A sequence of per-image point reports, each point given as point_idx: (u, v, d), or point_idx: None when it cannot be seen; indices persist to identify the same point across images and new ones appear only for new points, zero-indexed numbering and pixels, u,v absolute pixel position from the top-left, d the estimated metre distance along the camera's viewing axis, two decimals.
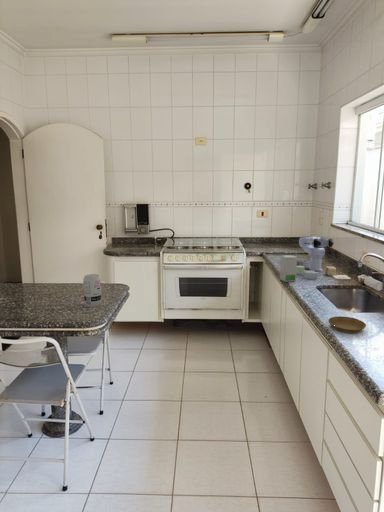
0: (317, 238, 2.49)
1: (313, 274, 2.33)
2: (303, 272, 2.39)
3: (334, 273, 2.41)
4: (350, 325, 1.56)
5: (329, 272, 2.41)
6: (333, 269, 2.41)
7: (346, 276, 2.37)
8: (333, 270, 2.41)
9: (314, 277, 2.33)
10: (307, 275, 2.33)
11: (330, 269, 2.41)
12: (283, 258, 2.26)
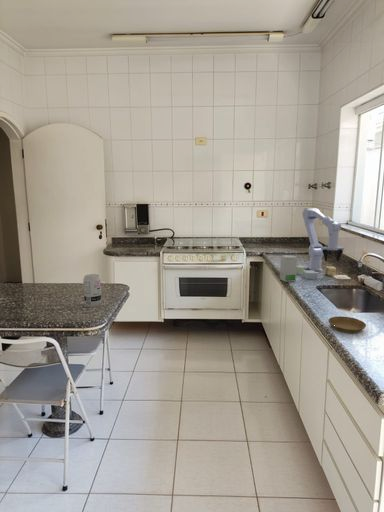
0: (334, 239, 2.37)
1: (313, 274, 2.33)
2: (303, 272, 2.39)
3: (334, 273, 2.41)
4: (350, 325, 1.56)
5: (329, 272, 2.41)
6: (333, 269, 2.41)
7: (346, 276, 2.37)
8: (333, 270, 2.41)
9: (315, 277, 2.33)
10: (307, 275, 2.33)
11: (330, 269, 2.41)
12: (283, 258, 2.26)
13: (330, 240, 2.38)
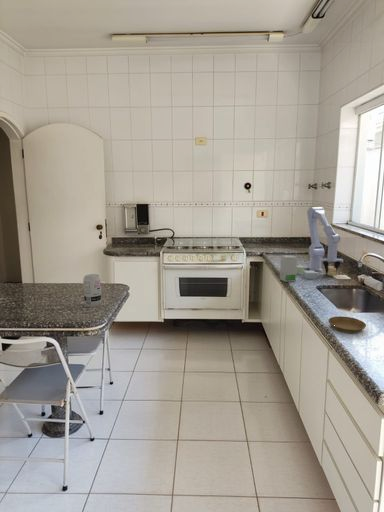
0: (333, 251, 2.38)
1: (314, 274, 2.33)
2: (303, 272, 2.39)
3: (334, 273, 2.41)
4: (350, 325, 1.56)
5: (329, 272, 2.41)
6: (333, 268, 2.41)
7: (346, 276, 2.37)
8: (333, 270, 2.41)
9: (315, 277, 2.33)
10: (308, 275, 2.33)
11: (330, 269, 2.41)
12: (283, 258, 2.26)
13: (329, 252, 2.40)
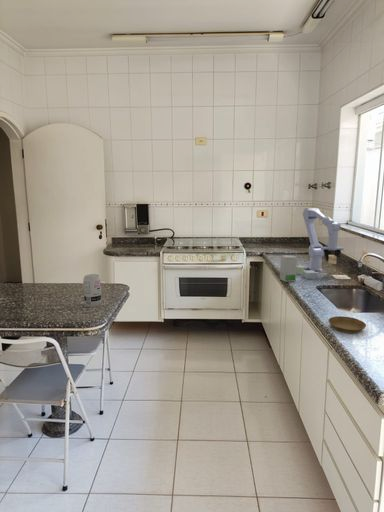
0: (333, 239, 2.36)
1: (314, 274, 2.33)
2: (303, 272, 2.39)
3: (335, 261, 2.39)
4: (350, 325, 1.56)
5: (330, 260, 2.39)
6: (334, 257, 2.39)
7: (346, 276, 2.37)
8: (334, 258, 2.39)
9: (315, 277, 2.34)
10: (308, 275, 2.33)
11: (331, 257, 2.39)
12: (283, 258, 2.26)
13: (330, 240, 2.38)
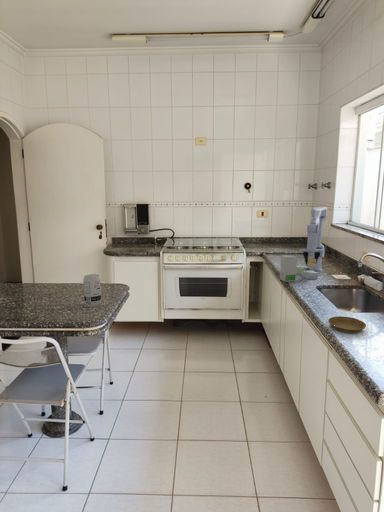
0: (309, 241, 2.31)
1: (314, 274, 2.33)
2: (303, 272, 2.38)
3: (314, 264, 2.32)
4: (350, 325, 1.56)
5: (309, 263, 2.32)
6: (313, 259, 2.32)
7: (346, 276, 2.37)
8: (313, 261, 2.32)
9: (315, 277, 2.34)
10: (308, 275, 2.33)
11: (310, 260, 2.32)
12: (283, 258, 2.26)
13: (307, 242, 2.33)
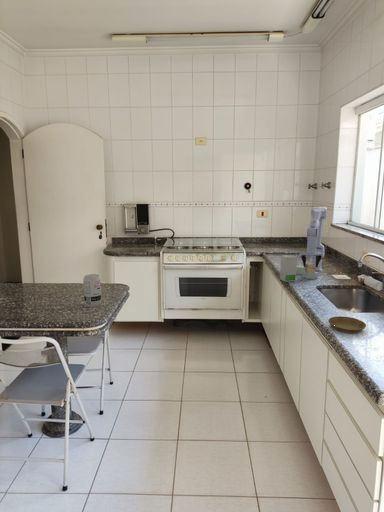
0: (309, 245, 2.31)
1: (314, 274, 2.33)
2: (303, 272, 2.38)
3: (313, 270, 2.33)
4: (350, 325, 1.56)
5: (308, 269, 2.33)
6: (312, 265, 2.33)
7: (346, 276, 2.37)
8: (312, 267, 2.33)
9: (315, 277, 2.34)
10: (309, 275, 2.33)
11: (309, 266, 2.33)
12: (283, 258, 2.26)
13: (307, 245, 2.34)
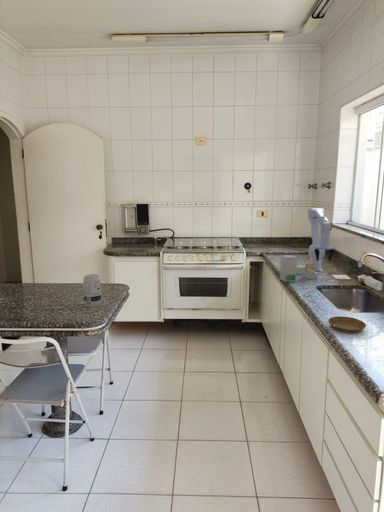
0: (324, 239, 2.35)
1: (314, 274, 2.33)
2: (303, 272, 2.38)
3: (313, 270, 2.33)
4: (350, 325, 1.56)
5: (308, 269, 2.33)
6: (312, 265, 2.33)
7: (346, 276, 2.37)
8: (312, 267, 2.33)
9: (315, 277, 2.34)
10: (309, 275, 2.33)
11: (309, 266, 2.33)
12: (283, 258, 2.26)
13: (321, 239, 2.37)
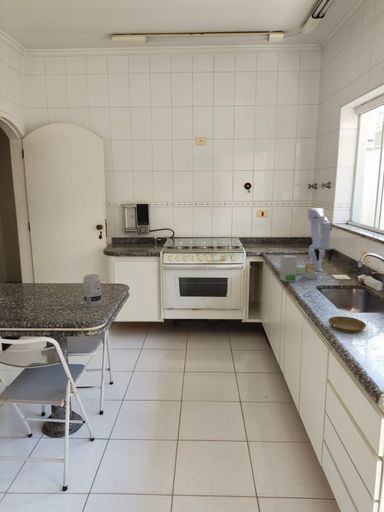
0: (324, 239, 2.35)
1: (315, 274, 2.33)
2: (303, 272, 2.38)
3: (313, 270, 2.33)
4: (350, 325, 1.56)
5: (308, 269, 2.33)
6: (312, 266, 2.32)
7: (346, 276, 2.37)
8: (312, 267, 2.33)
9: (315, 277, 2.34)
10: (309, 275, 2.33)
11: (309, 266, 2.33)
12: (283, 258, 2.26)
13: (321, 239, 2.37)
